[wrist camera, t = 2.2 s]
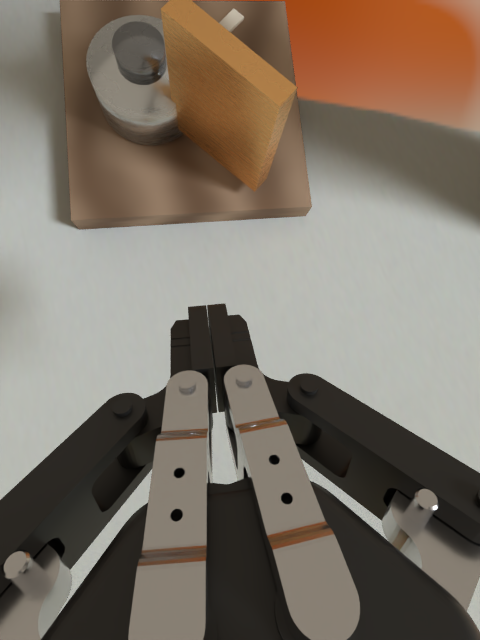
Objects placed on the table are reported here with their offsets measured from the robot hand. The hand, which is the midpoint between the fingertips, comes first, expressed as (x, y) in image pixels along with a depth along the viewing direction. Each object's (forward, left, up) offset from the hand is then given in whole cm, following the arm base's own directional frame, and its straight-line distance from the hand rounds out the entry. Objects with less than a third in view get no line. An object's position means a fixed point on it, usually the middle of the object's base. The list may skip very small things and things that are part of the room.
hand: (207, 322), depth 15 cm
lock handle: (0, -18, -14) cm, 23 cm away
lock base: (0, -21, -17) cm, 27 cm away
